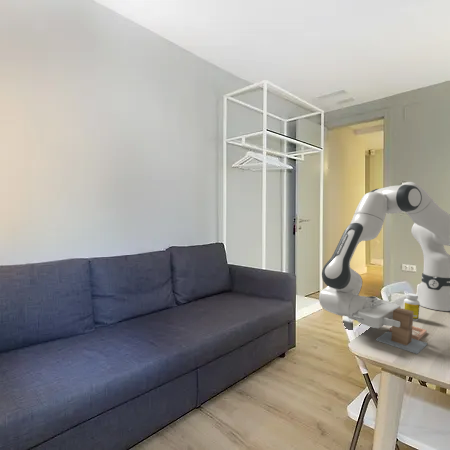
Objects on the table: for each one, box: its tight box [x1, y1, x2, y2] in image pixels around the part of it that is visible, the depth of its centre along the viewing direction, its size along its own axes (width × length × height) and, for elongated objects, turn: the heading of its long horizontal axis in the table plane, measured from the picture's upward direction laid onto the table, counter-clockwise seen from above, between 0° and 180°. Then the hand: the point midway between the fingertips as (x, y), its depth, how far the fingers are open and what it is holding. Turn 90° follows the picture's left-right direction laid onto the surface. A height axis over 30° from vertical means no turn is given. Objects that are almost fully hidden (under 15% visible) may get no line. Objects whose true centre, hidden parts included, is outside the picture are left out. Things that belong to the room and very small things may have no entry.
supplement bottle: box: [402, 292, 420, 322], centre depth 122 cm, size 5×5×10 cm
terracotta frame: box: [388, 325, 427, 341], centre depth 109 cm, size 9×9×1 cm
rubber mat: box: [375, 330, 428, 355], centre depth 100 cm, size 10×12×1 cm
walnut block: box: [391, 307, 414, 345], centre depth 100 cm, size 4×4×10 cm
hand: (405, 320), depth 99 cm, fingers open, 8 cm apart
